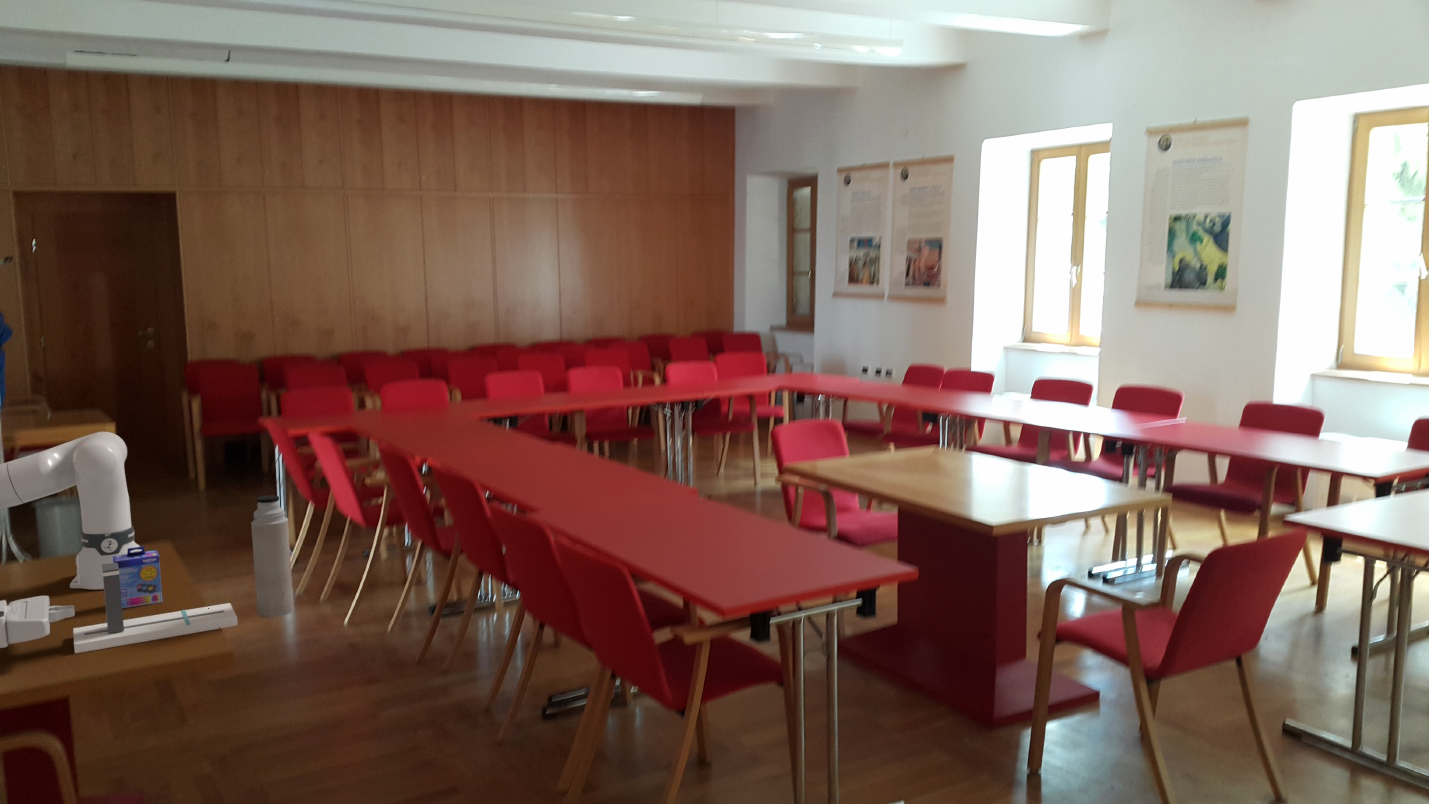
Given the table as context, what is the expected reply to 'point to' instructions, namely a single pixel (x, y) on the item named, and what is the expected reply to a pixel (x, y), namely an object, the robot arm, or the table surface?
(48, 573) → the table surface
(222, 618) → the fader board
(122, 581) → the ink cartridge box
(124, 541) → the robot arm
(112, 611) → the fader knob
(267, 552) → the thermos bottle
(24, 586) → the table surface
